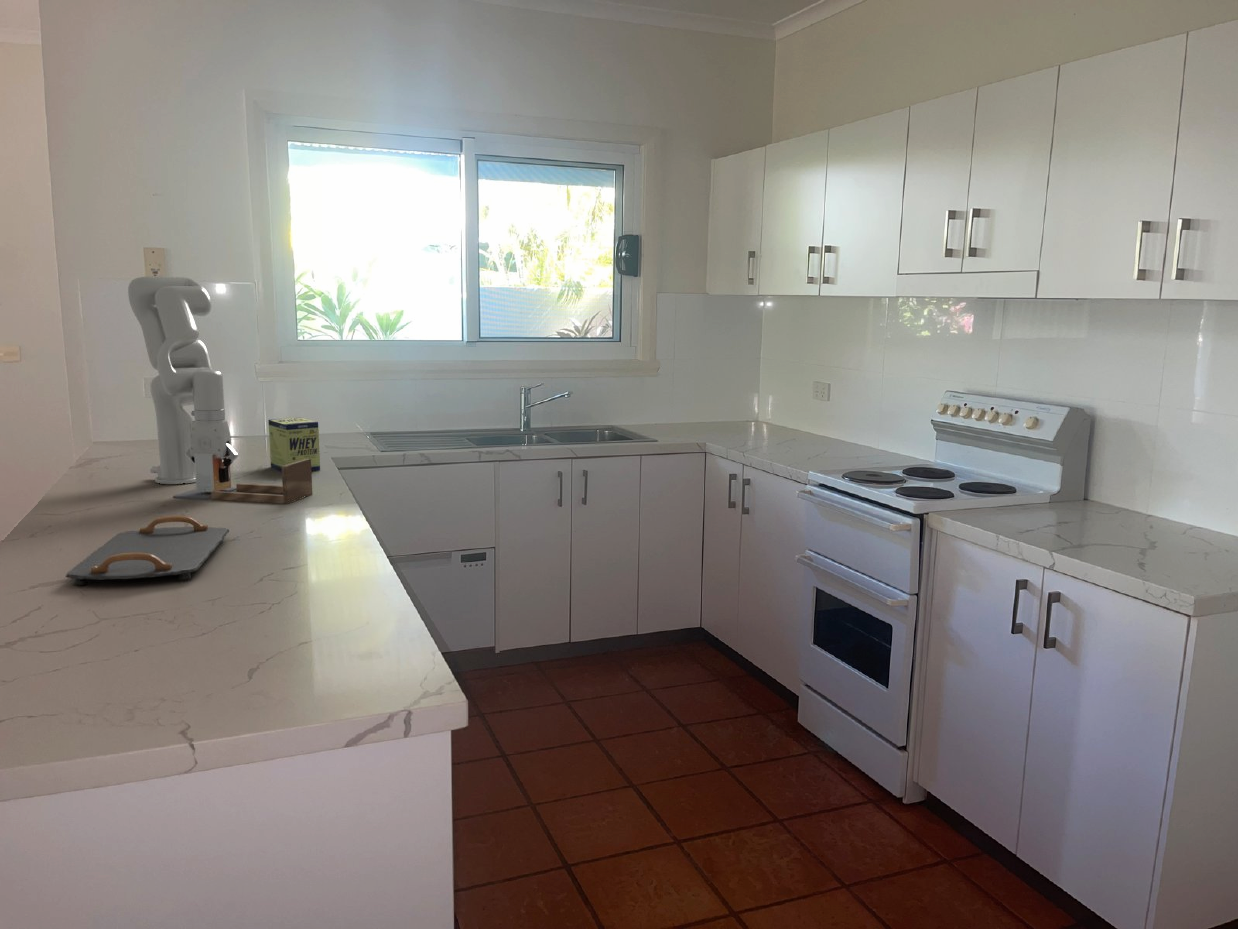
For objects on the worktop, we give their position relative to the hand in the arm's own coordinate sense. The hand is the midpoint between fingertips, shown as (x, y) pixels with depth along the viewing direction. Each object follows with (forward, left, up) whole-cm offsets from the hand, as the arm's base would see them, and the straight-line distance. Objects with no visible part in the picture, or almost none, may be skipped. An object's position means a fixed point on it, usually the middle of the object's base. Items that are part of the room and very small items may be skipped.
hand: (213, 480), depth 251 cm
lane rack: (+15, 0, -4) cm, 15 cm away
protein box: (0, +41, -4) cm, 41 cm away
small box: (0, 0, -3) cm, 3 cm away
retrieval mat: (-2, 0, -4) cm, 4 cm away
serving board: (+30, -62, -4) cm, 69 cm away
